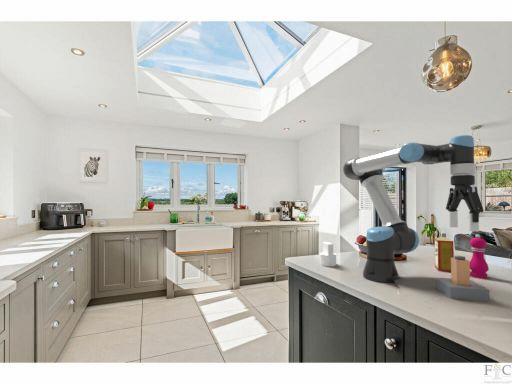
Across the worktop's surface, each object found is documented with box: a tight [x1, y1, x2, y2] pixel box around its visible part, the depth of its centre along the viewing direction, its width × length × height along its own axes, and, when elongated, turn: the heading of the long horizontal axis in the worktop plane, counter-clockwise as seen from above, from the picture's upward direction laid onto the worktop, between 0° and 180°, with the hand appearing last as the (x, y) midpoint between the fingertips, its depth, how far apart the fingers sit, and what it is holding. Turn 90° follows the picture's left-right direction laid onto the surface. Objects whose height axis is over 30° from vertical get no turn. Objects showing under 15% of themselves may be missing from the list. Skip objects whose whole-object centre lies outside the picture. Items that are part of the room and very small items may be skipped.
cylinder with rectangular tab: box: [319, 241, 337, 267], centre depth 149 cm, size 9×9×12 cm
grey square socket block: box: [435, 277, 490, 302], centre depth 100 cm, size 12×12×5 cm
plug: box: [450, 255, 471, 286], centre depth 100 cm, size 4×4×14 cm
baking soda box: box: [434, 237, 455, 273], centre depth 139 cm, size 10×6×16 cm
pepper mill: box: [469, 233, 489, 279], centre depth 126 cm, size 7×7×20 cm
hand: (463, 229), depth 104 cm, fingers open, 13 cm apart
